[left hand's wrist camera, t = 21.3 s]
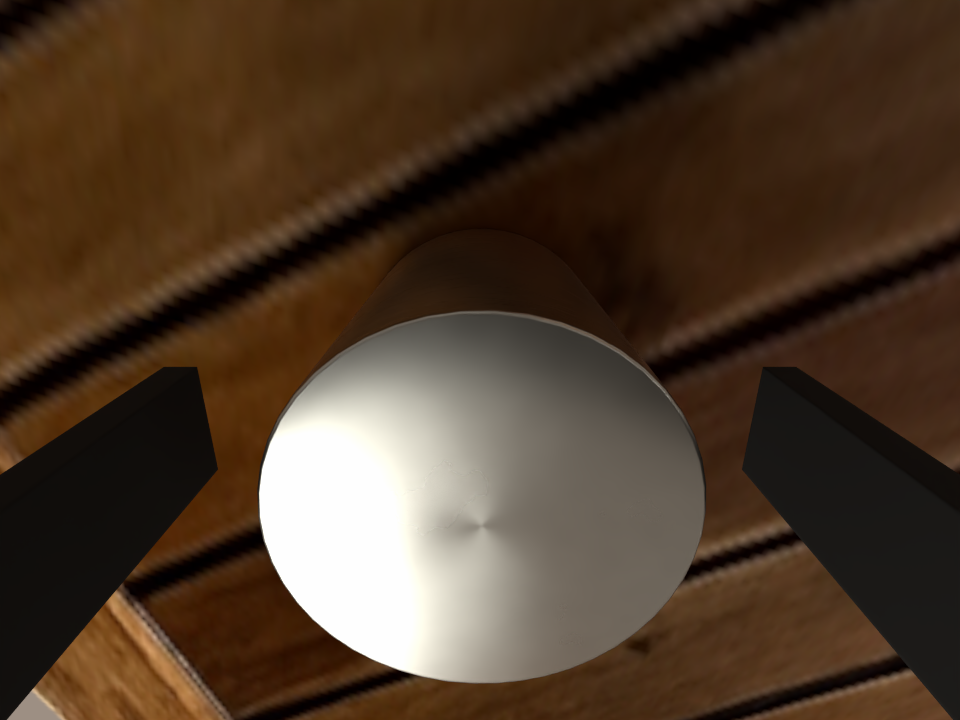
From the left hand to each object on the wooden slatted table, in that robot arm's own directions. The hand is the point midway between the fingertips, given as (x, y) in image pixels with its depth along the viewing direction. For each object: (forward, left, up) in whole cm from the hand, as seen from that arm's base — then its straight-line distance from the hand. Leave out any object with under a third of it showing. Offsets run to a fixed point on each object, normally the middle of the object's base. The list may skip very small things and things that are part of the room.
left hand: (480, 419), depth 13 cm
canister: (0, 0, -5) cm, 5 cm away
